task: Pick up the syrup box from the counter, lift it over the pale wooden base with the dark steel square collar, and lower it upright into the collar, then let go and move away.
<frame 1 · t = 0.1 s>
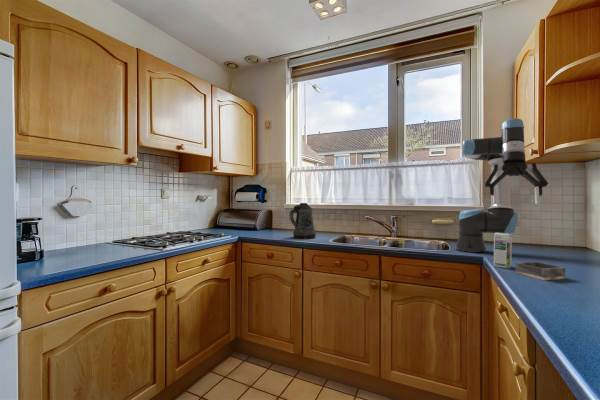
hand: (515, 203, 113), 28 cm above the worktop, tool tilted 20°, fingers open, 13 cm apart
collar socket: (539, 275, 110), on the worktop
black handled container: (303, 237, 207), on the worktop
syrup box: (502, 267, 125), on the worktop
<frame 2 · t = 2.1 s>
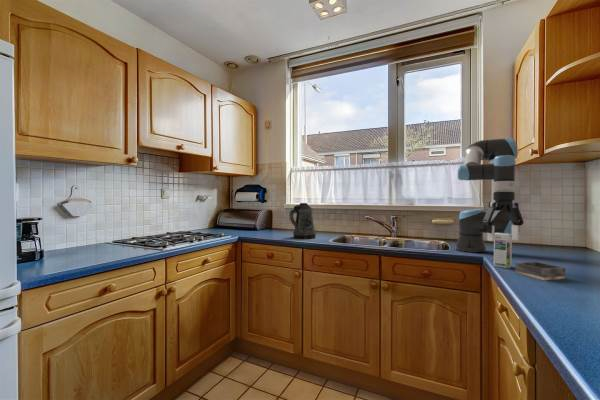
hand: (503, 240, 124), 11 cm above the worktop, tool pointing down, fingers open, 13 cm apart
nothing on the worktop moved.
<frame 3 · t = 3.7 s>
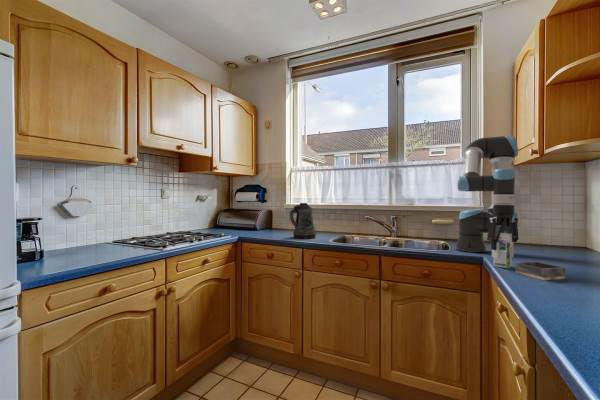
hand: (502, 256, 125), 4 cm above the worktop, tool pointing down, fingers closed on syrup box, 7 cm apart
syrup box: (502, 266, 125), on the worktop, touching gripper
everything else where it was.
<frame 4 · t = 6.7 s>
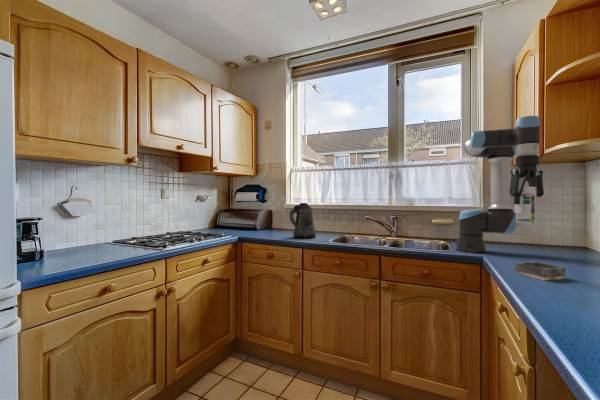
hand: (526, 212, 115), 24 cm above the worktop, tool pointing down, fingers closed on syrup box, 7 cm apart
syrup box: (526, 223, 115), point 20 cm above the worktop, touching gripper
everything else where it was.
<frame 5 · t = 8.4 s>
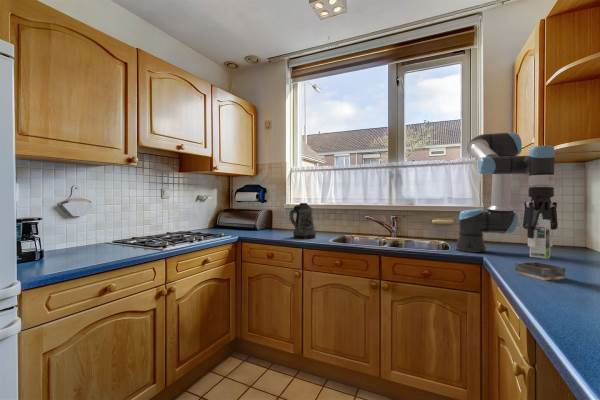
hand: (540, 246, 110), 11 cm above the worktop, tool pointing down, fingers closed on syrup box, 7 cm apart
syrup box: (539, 257, 110), point 7 cm above the worktop, touching gripper
everything else where it was.
when the fingers open (7 cm above the worktop, at t = 9.7 s): syrup box drops 1 cm, resting on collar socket.
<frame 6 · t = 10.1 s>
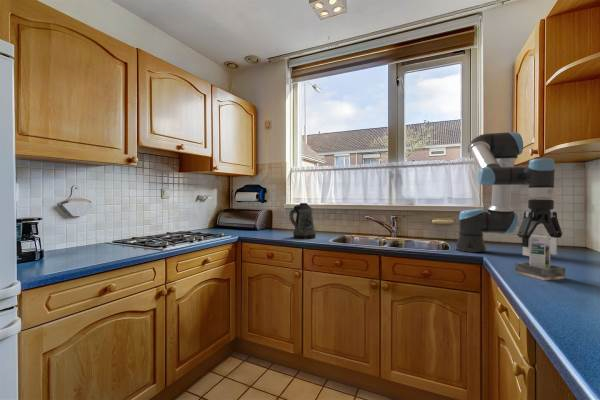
hand: (539, 254, 110), 8 cm above the worktop, tool pointing down, fingers open, 12 cm apart
syrup box: (539, 273, 110), point 1 cm above the worktop, touching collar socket
everything else where it was.
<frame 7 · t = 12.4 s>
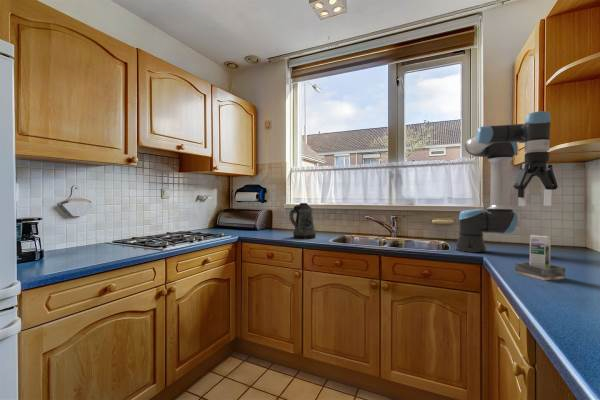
hand: (535, 206, 113), 27 cm above the worktop, tool pointing down, fingers open, 13 cm apart
nothing on the worktop moved.
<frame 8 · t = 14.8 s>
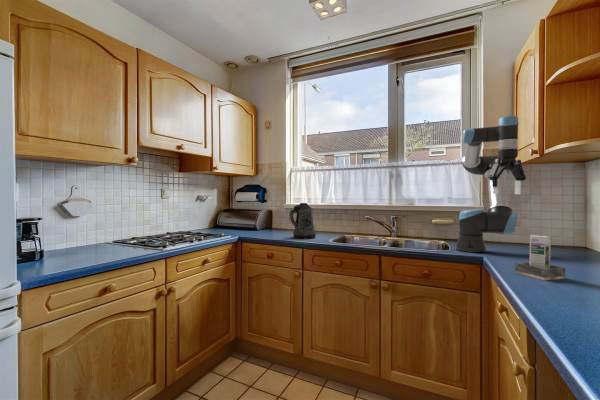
hand: (507, 194, 136), 32 cm above the worktop, tool pointing down, fingers open, 13 cm apart
nothing on the worktop moved.
at the end: syrup box 0.2 cm off-centre on the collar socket, point 0.8 cm above the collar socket's base; syrup box tilted 0°; the gripper is holding nothing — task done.
